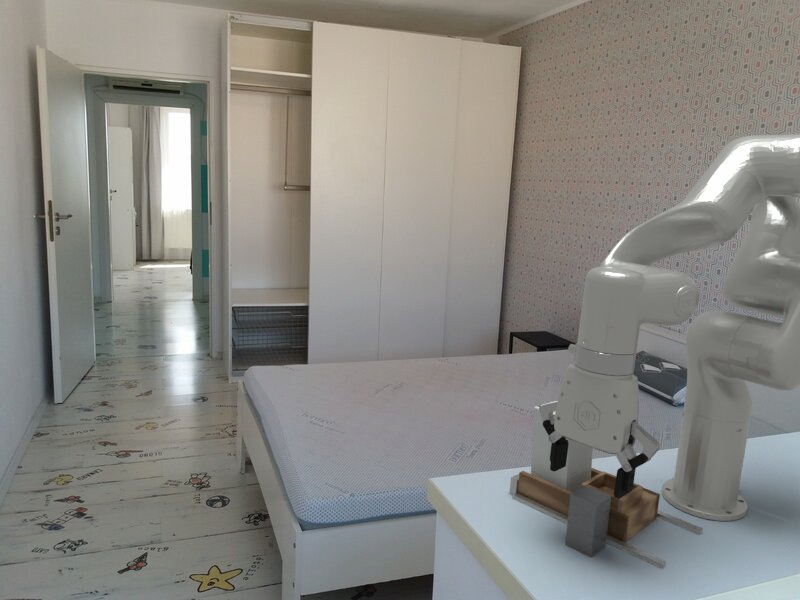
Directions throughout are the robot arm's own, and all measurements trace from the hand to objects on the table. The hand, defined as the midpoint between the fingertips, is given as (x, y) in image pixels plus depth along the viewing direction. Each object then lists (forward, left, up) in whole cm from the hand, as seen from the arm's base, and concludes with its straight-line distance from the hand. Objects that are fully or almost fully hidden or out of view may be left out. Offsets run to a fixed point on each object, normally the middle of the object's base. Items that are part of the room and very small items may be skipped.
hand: (588, 481), depth 87 cm
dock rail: (-11, -3, -10) cm, 15 cm away
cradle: (-11, -6, -10) cm, 16 cm away
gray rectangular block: (-1, 0, -10) cm, 10 cm away
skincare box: (-11, -11, -10) cm, 18 cm away
